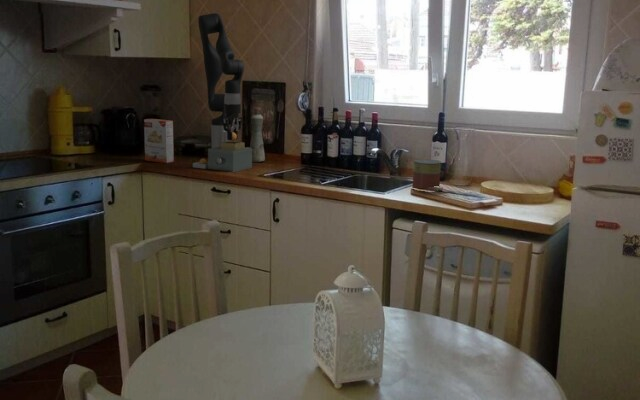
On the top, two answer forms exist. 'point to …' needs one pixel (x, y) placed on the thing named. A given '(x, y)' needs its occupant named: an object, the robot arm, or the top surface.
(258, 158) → the bottle
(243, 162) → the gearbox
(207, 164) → the bead dish
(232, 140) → the bead
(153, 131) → the cracker box
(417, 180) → the canned food
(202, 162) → the bead
